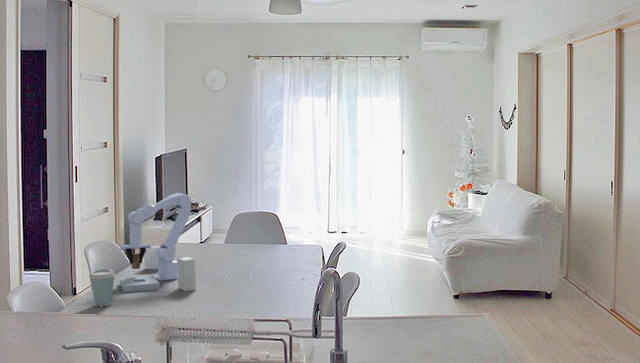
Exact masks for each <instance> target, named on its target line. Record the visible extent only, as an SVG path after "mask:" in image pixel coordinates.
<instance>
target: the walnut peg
mask: <svg viewBox="0 0 640 363" xmlns="http://www.w3.org/2000/svg"><path fill="white" fill-rule="evenodd" d="M131 269H132V270H136V269H137V270H138V269H141V264H140V252H132V264H131Z"/></svg>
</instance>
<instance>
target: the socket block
mask: <svg viewBox="0 0 640 363" xmlns="http://www.w3.org/2000/svg"><path fill="white" fill-rule="evenodd" d="M119 285H120V287H121V289H122V290H123V292H124V293H131V292H144V291H154V290H155V291H156V290H160V282H159V280H158V279H157V277H155V276H154V275H149V276H148V275H147V276H135V277H134V276H133V277H123V278H122V277H120V278H119Z"/></svg>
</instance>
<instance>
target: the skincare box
mask: <svg viewBox="0 0 640 363" xmlns="http://www.w3.org/2000/svg"><path fill="white" fill-rule="evenodd" d="M176 261H177V266H178V279H177V281H178V285H177V286H178V289H180V290H182V291H184V292H189V291H191V292H192V291H196V288H197V286H196V285H197V284H196V265H195V264H196V262H195V258H192V257H190V256H185V257H177V260H176Z"/></svg>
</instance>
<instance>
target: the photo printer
mask: <svg viewBox="0 0 640 363" xmlns="http://www.w3.org/2000/svg"><path fill="white" fill-rule="evenodd" d="M159 247H160V246H158V245H151V248H146V252H145V254H144V270H158V257H157V255H156V251H157V249H158V248H159Z"/></svg>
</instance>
